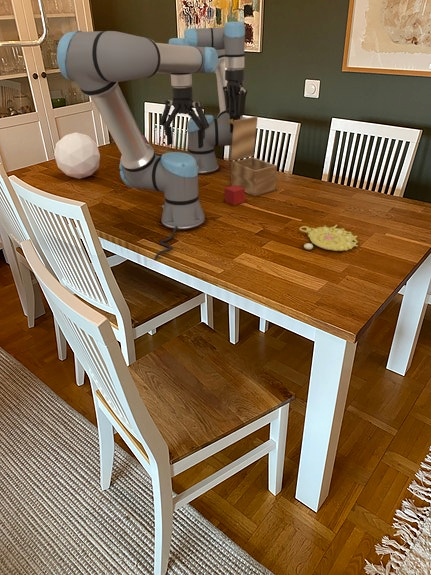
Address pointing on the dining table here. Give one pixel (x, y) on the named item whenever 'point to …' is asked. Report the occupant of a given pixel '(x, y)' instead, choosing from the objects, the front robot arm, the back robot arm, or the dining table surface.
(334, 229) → the decorative object
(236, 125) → the lid
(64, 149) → the sphere
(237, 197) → the block
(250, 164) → the chest
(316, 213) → the dining table surface
